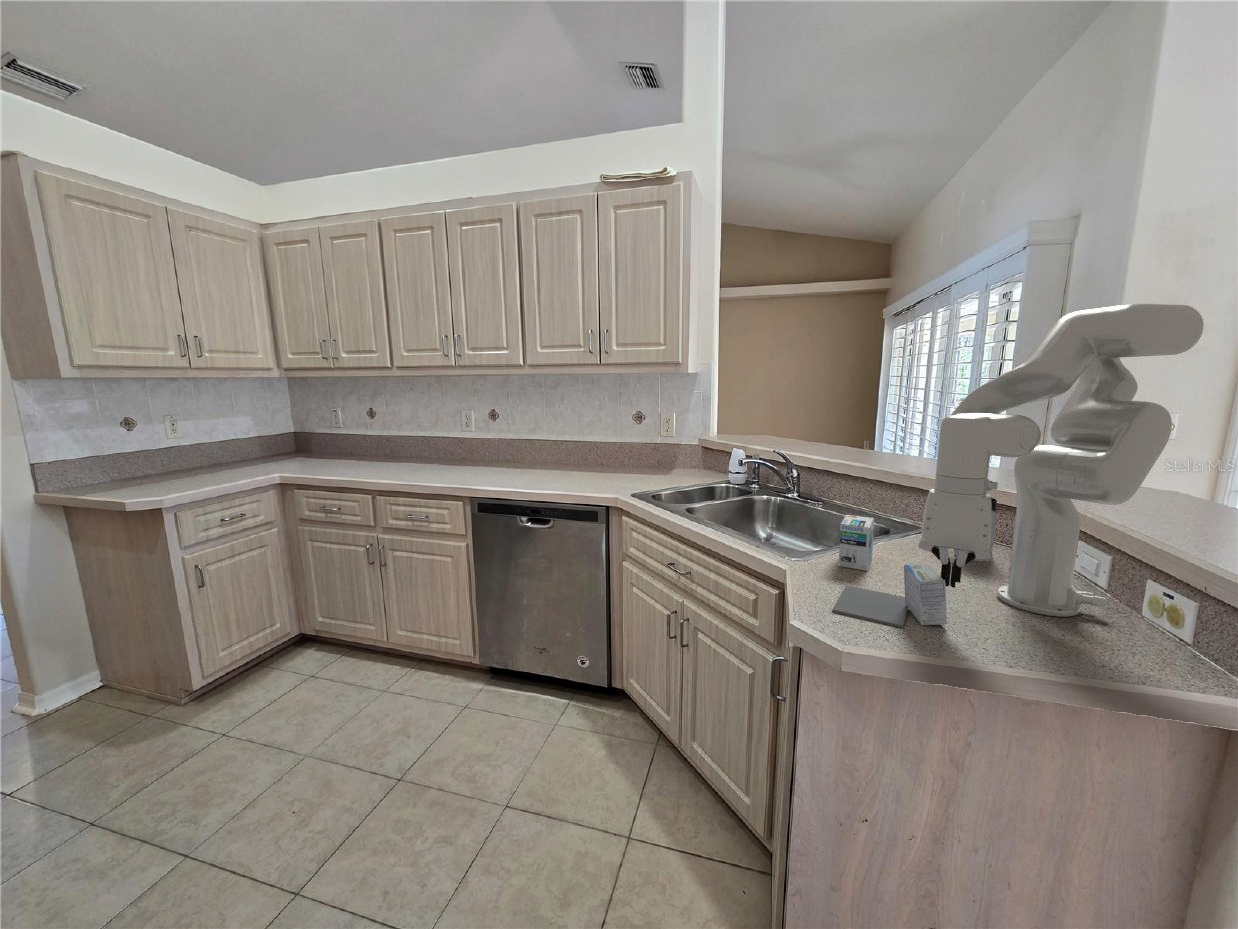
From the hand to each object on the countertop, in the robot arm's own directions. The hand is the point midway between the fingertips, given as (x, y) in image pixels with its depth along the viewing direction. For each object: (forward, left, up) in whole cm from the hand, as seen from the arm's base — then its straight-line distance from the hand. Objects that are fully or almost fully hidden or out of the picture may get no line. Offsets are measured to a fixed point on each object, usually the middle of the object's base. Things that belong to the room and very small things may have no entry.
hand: (949, 584), depth 89 cm
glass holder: (-3, -48, -8) cm, 49 cm away
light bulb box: (+19, -25, -8) cm, 33 cm away
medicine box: (+3, 0, -7) cm, 8 cm away
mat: (+12, 0, -7) cm, 14 cm away
